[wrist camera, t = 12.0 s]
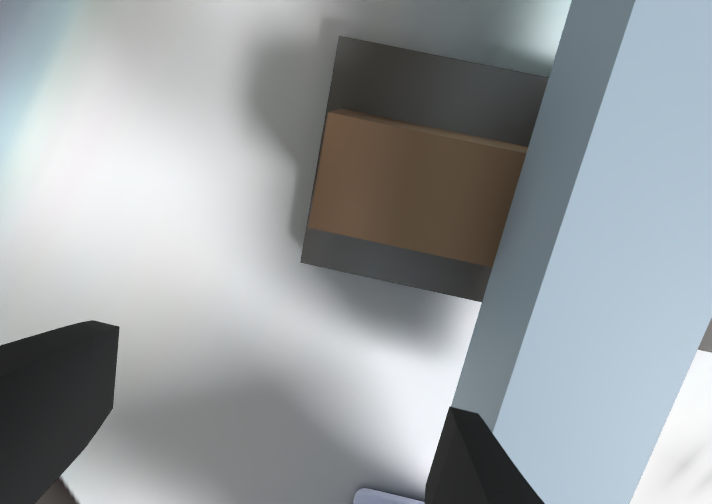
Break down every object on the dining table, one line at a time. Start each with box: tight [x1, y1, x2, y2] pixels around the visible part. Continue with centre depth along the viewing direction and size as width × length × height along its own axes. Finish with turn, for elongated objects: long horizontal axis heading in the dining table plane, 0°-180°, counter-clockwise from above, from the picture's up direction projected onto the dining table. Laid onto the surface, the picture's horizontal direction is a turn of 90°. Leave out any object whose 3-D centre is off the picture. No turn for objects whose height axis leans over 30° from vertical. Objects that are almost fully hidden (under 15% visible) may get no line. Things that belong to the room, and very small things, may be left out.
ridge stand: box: [301, 36, 712, 352], centre depth 18 cm, size 16×8×4 cm, turn 79°
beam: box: [451, 0, 712, 504], centre depth 14 cm, size 18×4×5 cm, turn 169°
